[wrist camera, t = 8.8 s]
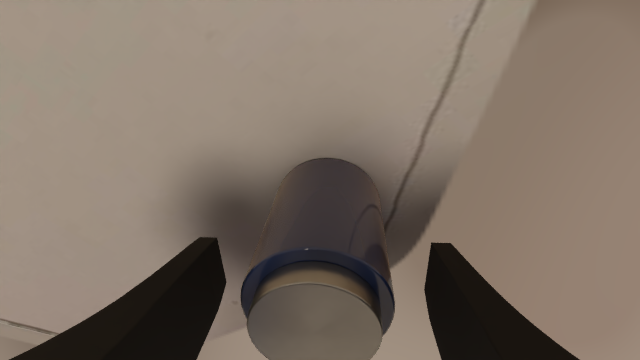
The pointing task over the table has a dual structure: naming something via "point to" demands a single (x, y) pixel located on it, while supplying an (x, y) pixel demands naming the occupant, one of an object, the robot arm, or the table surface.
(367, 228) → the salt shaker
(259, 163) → the table surface
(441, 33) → the table surface
